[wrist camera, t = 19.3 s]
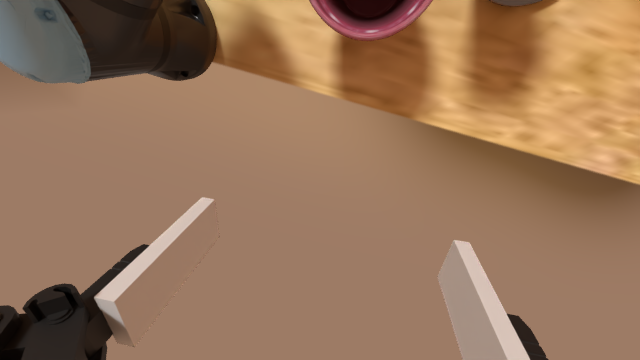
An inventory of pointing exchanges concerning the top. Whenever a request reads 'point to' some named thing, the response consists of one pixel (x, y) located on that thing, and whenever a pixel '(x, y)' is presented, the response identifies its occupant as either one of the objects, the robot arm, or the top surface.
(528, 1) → the gray dome
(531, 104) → the top surface
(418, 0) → the plant pot
